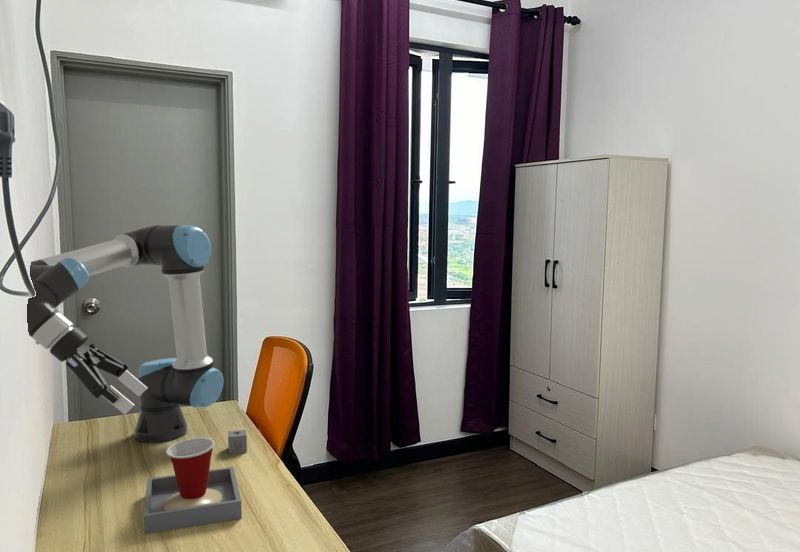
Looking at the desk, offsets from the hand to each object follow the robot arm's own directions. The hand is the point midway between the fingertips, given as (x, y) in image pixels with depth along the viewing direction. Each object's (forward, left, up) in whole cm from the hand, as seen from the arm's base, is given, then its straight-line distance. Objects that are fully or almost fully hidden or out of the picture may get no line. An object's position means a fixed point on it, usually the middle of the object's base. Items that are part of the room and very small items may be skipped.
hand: (137, 400), depth 138 cm
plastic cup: (0, +11, -24) cm, 26 cm away
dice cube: (-28, +24, -25) cm, 45 cm away
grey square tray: (+4, +11, -25) cm, 28 cm away
